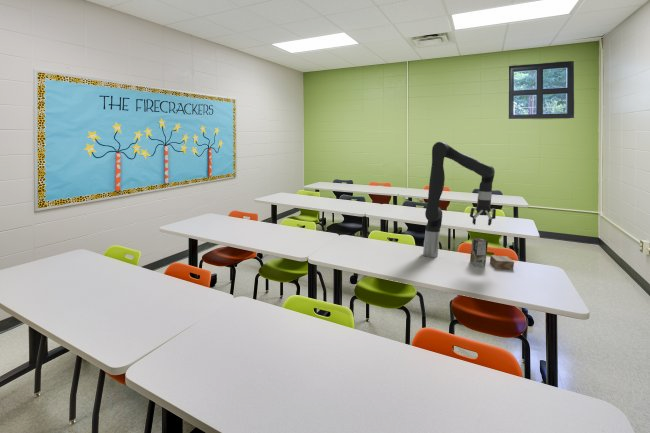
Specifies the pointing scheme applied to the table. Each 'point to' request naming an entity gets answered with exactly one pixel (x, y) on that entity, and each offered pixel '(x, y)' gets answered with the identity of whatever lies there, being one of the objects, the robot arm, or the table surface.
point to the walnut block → (501, 262)
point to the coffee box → (478, 252)
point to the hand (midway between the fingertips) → (481, 224)
